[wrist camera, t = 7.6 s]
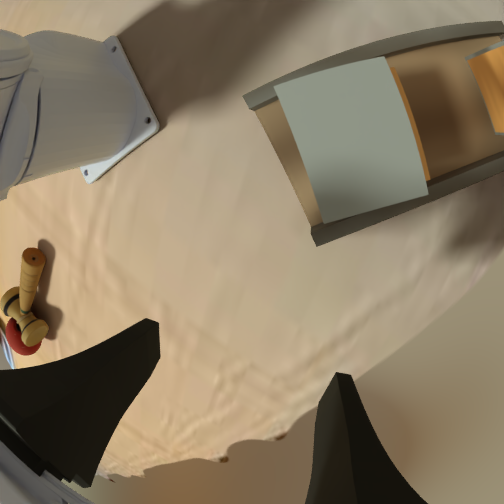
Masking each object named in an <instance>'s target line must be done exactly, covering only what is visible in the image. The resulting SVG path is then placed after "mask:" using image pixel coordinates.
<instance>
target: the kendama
mask: <svg viewBox="0 0 504 504" xmlns="http://www.w3.org/2000/svg"><path fill="white" fill-rule="evenodd" d="M45 261H46V257H45V255H44V254H43V253H42V251H40V250H39V249H37V248H27V249H25V250H24V252H23V254H22V265H21V277H20V287H13V288H11V289H10V290H8V291H7V292H6V293H5V294H4V295H3V297H2V298H1V301H0V308H1V310H2V311H3V313H4V314H5V315H6V316H10V317H12V318H11V319H10V320H9V321H8V323H7V326H6V338H7V341H8V343H9V345H10V346H11V348H12V349H13V350H14V351H15V352H17V353H19V354H21V355H32V354H34V353H35V352H36V351H37V350H38V349H39V348H40V346H41V343H42V339H43V338H44V337H45V336H46V334H47V332H48V325H47V324H46V322H45V321H44V320H41V319H37V318H35V316H34V315H33V313H32V312H30V308H31V305H32V303H33V300H34V297H35V293H36V290H37V286H38V282H39V279H40V276H41V273H42V270H43V267H44V265H45Z"/></svg>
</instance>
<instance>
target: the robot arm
mask: <svg viewBox="0 0 504 504" xmlns="http://www.w3.org/2000/svg"><path fill="white" fill-rule="evenodd" d="M116 48H117V49H116ZM115 49H116V51H115ZM114 51H115V52H114ZM149 117H150V118H151V122H150V123H149V124H148V118H149ZM159 126H160V125H159V122H158V120H157V118H156V116H155V114H154V112H153V110H152V108H151V106H150V104H149V102H148V100H147V98H146V96H145V94H144V92H143V90H142V88H141V86H140V83H139V81H138V79H137V77H136V75H135V73H134V71H133V69H132V67H131V65H130V63H129V61H128V59H127V56H126V54H125V52H124V50H123V48H122V46H121V44H120V42H119V40H118V38H117V37H116V36H110V37H109V38H108V39H106V40H105V41H104V42H100V41H96V40H93V39H89V38H85V37H81V36H76V35H72V34H67V33H62V32H57V31H50V30H47V31H39V32H35V33H32V34H29V35H27V36H25V37H22V36H20V35H18V34H15V33H13V32H10V31H6V30H2V29H0V201H1V200H4V199H6V198H7V194H8V191H9V189H10V188H11V187H12V186H16V185H19V184H22V183H25V182H28V181H31V180H35V179H38V178H41V177H45V176H48V175H52V174H55V173H59V172H63V171H67V170H70V169H74V168H78V167H80V169H81V172H82V174H83V176H84V178H85V181H86V182H87V183H88V184H92V183H94V182H95V181H96V180H97V179H98V178H100V177H101V176H102V175H103V174H104V173H105V172H106V171H108V170H109V169H110V168H111V167H112V166H114V165H115V164H116V163H117V162H118V161H120V160H121V159H122V158H123V157H125V156H126V155H127V154H128V153H130V152H131V151H132V150H134V149H135V148H136V147H137V146H139V145H140V144H141V143H143V142H144V141H145V140H147V139H148V138H149V137H151V136H152V135H154V134H155V133H156V132H157V131H158V130H159ZM87 171H88V173H87ZM159 359H160V339H159V323H158V322H155V321H153V320H150V319H147V318H145V319H143V320H141V321H140V322H138V323H136V324H134V325H133V326H131V327H129V328H127V329H125V330H124V331H122V332H120V333H118V334H117V335H115V336H113V337H111V338H109V339H107V340H105V341H104V342H102V343H100V344H97V345H95V346H93V347H91V348H89V349H87V350H85V351H83V352H80V353H78V354H75V355H73V356H70V357H67V358H64V359H61V360H58V361H54V362H51V363H47V364H43V365H39V366H34V367H28V368H21V369H11V370H0V504H68V503H69V504H94V503H93V502H91V501H89V500H88V499H86V498H84V497H83V496H81V495H80V494H78V493H77V492H75V491H74V490H72V489H71V488H69V487H68V486H67V485H65V484H64V483H62V482H61V480H62V479H65V480H66V481H68V482H69V483H70V482H71V481H73V482H75V483H76V484H78V485H79V486H81V487H83V488H88V487H91V485H92V481H93V479H94V476H95V473H96V470H97V468H98V465H99V463H100V461H101V458H102V456H103V453H104V451H105V449H106V447H107V445H108V443H109V441H110V439H111V437H112V435H113V433H114V431H115V429H116V427H117V425H118V423H119V421H120V419H121V418H122V416H123V415H124V413H125V412H126V410H127V409H128V407H129V406H130V405H131V403H132V402H133V400H134V399H135V397H136V396H137V395H138V393H139V392H140V390H141V389H142V388H143V386H144V385H145V383H146V382H147V381H148V379H149V378H150V376H151V374H152V372H153V371H154V369H155V367H156V365H157V363H158V361H159ZM305 504H428V503H427V502H426V501H424V500H423V499H422V498H421V497H420V496H419V495H418V494H417V493H416V491H415V490H414V489H413V488H412V487H411V486H410V485H409V484H408V482H407V481H406V480H405V479H404V477H403V476H402V475H401V473H400V472H399V471H398V470H397V468H396V467H395V465H394V464H393V462H392V461H391V459H390V458H389V456H388V455H387V453H386V451H385V449H384V448H383V446H382V444H381V442H380V441H379V439H378V437H377V435H376V433H375V431H374V429H373V427H372V425H371V422H370V420H369V418H368V416H367V413H366V411H365V409H364V406H363V404H362V402H361V399H360V397H359V394H358V392H357V389H356V387H355V384H354V381H353V379H352V376H351V375H349V374H344V373H338V372H336V373H335V375H334V377H333V379H332V380H331V382H330V384H329V386H328V387H327V389H326V391H325V393H324V394H323V396H322V398H321V399H320V401H319V404H318V410H317V416H316V422H315V434H314V451H313V464H312V474H311V480H310V485H309V489H308V494H307V498H306V502H305Z"/></svg>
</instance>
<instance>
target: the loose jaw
mask: <svg viewBox="0 0 504 504" xmlns="http://www.w3.org/2000/svg"><path fill="white" fill-rule="evenodd" d="M273 87H274V89H275V91H276V94H277V96H278V98H279V101H280V103H281V106H282V108H283V111H284V113H285V116H286V118H287V121H288V123H289V126H290V128H291V131H292V133H293V136H294V139H295V141H296V144H297V147H298V149H299V152H300V155H301V157H302V160H303V163H304V166H305V169H306V171H307V174H308V177H309V180H310V183H311V186H312V189H313V192H314V195H315V198H316V201H317V204H318V207H319V210H320V213H321V217H322V220H323V223H324V224H326V223H329V222H333V221H336V220H340V219H343V218H347V217H350V216H354V215H357V214H361V213H364V212H368V211H372V210H375V209H379V208H382V207H386V206H389V205H393V204H397V203H400V202H404V201H407V200H411V199H414V198H418V197H422V196H425V195H429V194H428V189H427V184H426V181H428V180H430V175H429V171H428V166H427V162H426V158H425V154H424V151H423V147H422V143H421V140H420V136H419V133H418V130H417V126H416V123H415V120H414V117H413V114H412V111H411V108H410V105H409V103H408V100H407V97H406V94H405V92H404V89H403V87H402V84H401V82H400V79H399V77H398V74H397V72H396V70H395V67H391V68H389V66H388V64H387V61H386V59H385V57H384V56H383V57H377V58H372V59H367V60H363V61H358V62H354V63H350V64H345V65H341V66H337V67H334V68H330V69H326V70H323V71H319V72H316V73H312V74H309V75H306V76H303V77H299V78H296V79H293V80H290V81H287V82H284V83H281V84H279V85H276V86H273Z"/></svg>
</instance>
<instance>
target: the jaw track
mask: <svg viewBox="0 0 504 504" xmlns="http://www.w3.org/2000/svg"><path fill="white" fill-rule="evenodd" d="M502 34H504V25H503V23H502V21H488V22H475V23H465V24H456V25H449V26H443V27H436V28H431V29H426V30H421V31H416V32H411V33H407V34H402V35H398V36H394V37H390V38H387V39H383V40H379V41H376V42H372V43H369V44H366V45H363V46H359V47H356V48H353V49H350V50H347V51H344V52H342V53H339V54H336V55H333V56H330V57H328V58H325V59H323V60H320V61H317V62H315V63H312V64H310V65H307V66H305V67H303V68H300V69H298V70H296V71H293V72H291V73H289V74H287V75H284V76H282V77H280V78H278V79H276V80H273V81H271V82H269V83H267V84H265V85H263V86H261V87H259V88H257V89H255V90H253V91H251V92H249V93H247V94H245V95H243V98H244V100H245V102H246V103H247V105H248V107H249V109H251V110H253V111H255V113H256V115H257V117H258V119H259V120H260V122H261V124H262V126H263V128H264V130H265V132H266V134H267V136H268V138H269V140H270V142H271V143H272V145H273V147H274V149H275V151H276V153H277V155H278V157H279V159H280V161H281V163H282V165H283V167H284V169H285V172H286V174H287V176H288V178H289V180H290V182H291V184H292V186H293V188H294V190H295V192H296V195H297V197H298V199H299V201H300V203H301V205H302V207H303V210H304V212H305V214H306V216H307V219H308V221H309V223H310V225H311V235H312V238H313V240H314V242H315V244H316V247H317V246H320V245H323V244H325V243H328V242H330V241H333V240H335V239H338V238H341V237H343V236H346V235H348V234H351V233H354V232H356V231H359V230H361V229H364V228H366V227H369V226H371V225H374V224H376V223H379V222H381V221H384V220H386V219H389V218H392V217H394V216H397V215H399V214H402V213H404V212H406V211H409V210H411V209H414V208H416V207H419V206H421V205H424V204H426V203H429V202H431V201H434V200H436V199H438V198H441V197H443V196H446V195H448V194H451V193H453V192H455V191H458V190H460V189H463V188H465V187H467V186H470V185H472V184H474V183H477V182H479V181H482V180H484V179H486V178H489V177H491V176H493V175H496V174H498V173H500V172H503V171H504V40H503V41H501V39H500V37H499V36H500V35H502ZM383 56H384V57H385V59H386V61H387V64H388V66H389V68H391V67H395V70H396V72H397V74H398V77H399V79H400V82H401V84H402V87H403V89H404V92H405V94H406V97H407V100H408V103H409V105H410V108H411V111H412V114H413V117H414V120H415V123H416V126H417V130H418V133H419V136H420V140H421V143H422V147H423V151H424V154H425V158H426V162H427V166H428V171H429V175H430V180H428V181H426V184H427V189H428V194H429V195H425V196H422V197H418V198H414V199H411V200H407V201H404V202H400V203H397V204H393V205H389V206H386V207H382V208H379V209H375V210H372V211H368V212H364V213H361V214H357V215H354V216H350V217H347V218H343V219H340V220H336V221H333V222H329V223H326V224H324V223H323V220H322V217H321V213H320V210H319V207H318V204H317V201H316V198H315V195H314V192H313V189H312V186H311V183H310V180H309V177H308V174H307V171H306V169H305V166H304V163H303V160H302V157H301V155H300V152H299V149H298V147H297V144H296V141H295V139H294V136H293V133H292V131H291V128H290V126H289V123H288V121H287V118H286V116H285V113H284V111H283V108H282V106H281V103H280V101H279V98H278V96H277V94H276V91H275V89H274V87H273V86H276V85H279V84H281V83H284V82H287V81H290V80H293V79H296V78H299V77H303V76H306V75H309V74H312V73H316V72H319V71H323V70H326V69H330V68H334V67H337V66H341V65H345V64H350V63H354V62H358V61H363V60H367V59H372V58H377V57H383Z"/></svg>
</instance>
